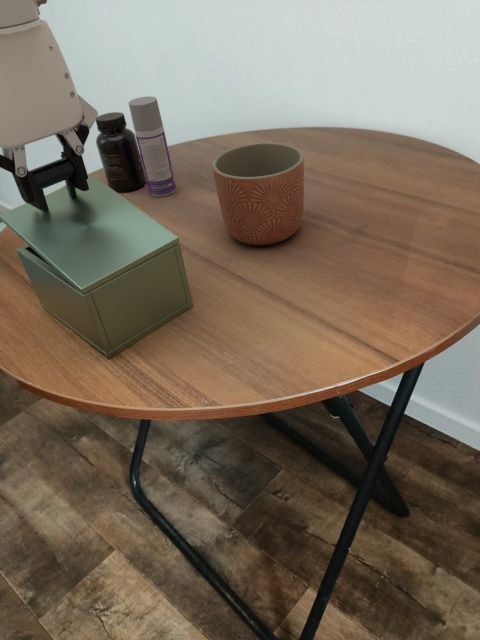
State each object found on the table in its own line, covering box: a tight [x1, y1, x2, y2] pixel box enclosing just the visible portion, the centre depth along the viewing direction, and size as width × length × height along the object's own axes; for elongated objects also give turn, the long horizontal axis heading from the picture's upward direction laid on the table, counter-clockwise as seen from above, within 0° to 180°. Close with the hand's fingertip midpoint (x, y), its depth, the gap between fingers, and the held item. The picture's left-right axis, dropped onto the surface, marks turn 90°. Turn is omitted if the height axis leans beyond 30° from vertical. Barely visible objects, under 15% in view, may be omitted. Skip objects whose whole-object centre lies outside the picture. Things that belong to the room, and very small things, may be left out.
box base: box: [15, 242, 194, 360], centre depth 63 cm, size 16×13×9 cm
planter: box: [211, 141, 305, 246], centre depth 74 cm, size 12×12×11 cm
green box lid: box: [0, 157, 180, 294], centre depth 57 cm, size 16×13×6 cm
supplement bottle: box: [95, 111, 147, 193], centre depth 91 cm, size 7×7×12 cm
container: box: [128, 95, 177, 198], centre depth 87 cm, size 5×5×15 cm
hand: (58, 195), depth 60 cm, fingers closed on green box lid, 4 cm apart
